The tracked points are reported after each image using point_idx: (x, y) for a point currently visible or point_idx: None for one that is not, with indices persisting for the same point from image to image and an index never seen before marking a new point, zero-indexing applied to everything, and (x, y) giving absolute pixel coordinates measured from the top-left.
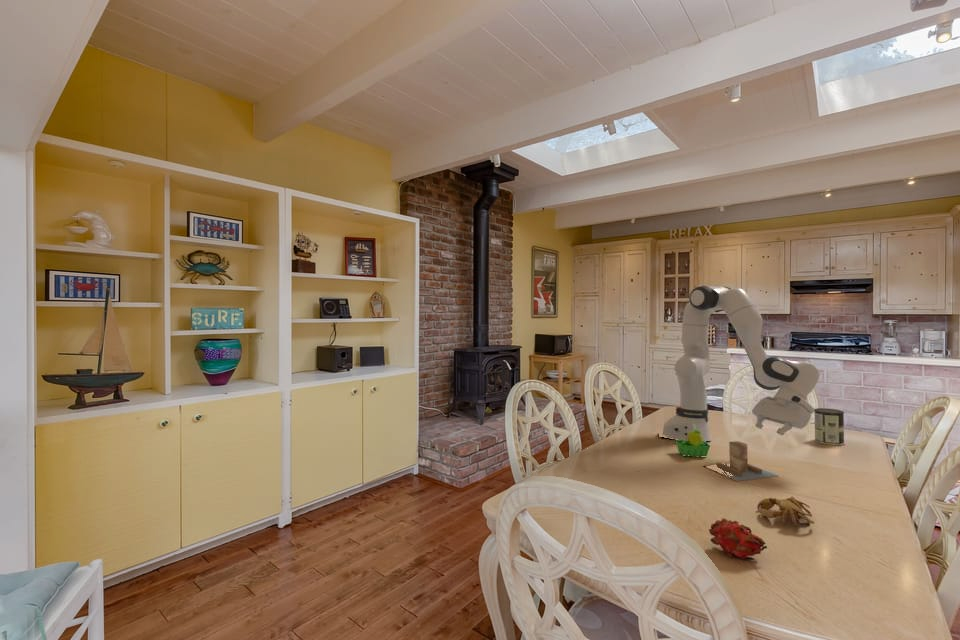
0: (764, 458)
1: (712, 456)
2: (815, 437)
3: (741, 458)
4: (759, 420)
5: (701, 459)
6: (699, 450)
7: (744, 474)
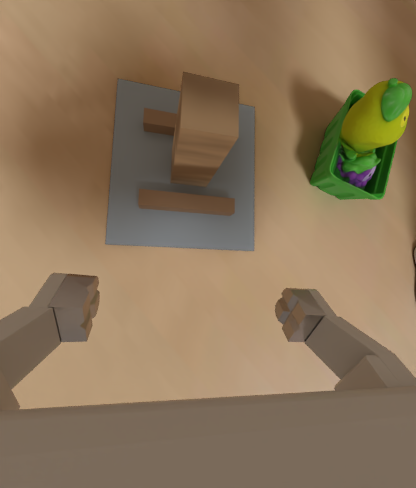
0: (257, 355)
1: (312, 208)
2: None
3: (175, 133)
4: (345, 343)
5: (298, 155)
6: (328, 151)
7: (153, 151)
